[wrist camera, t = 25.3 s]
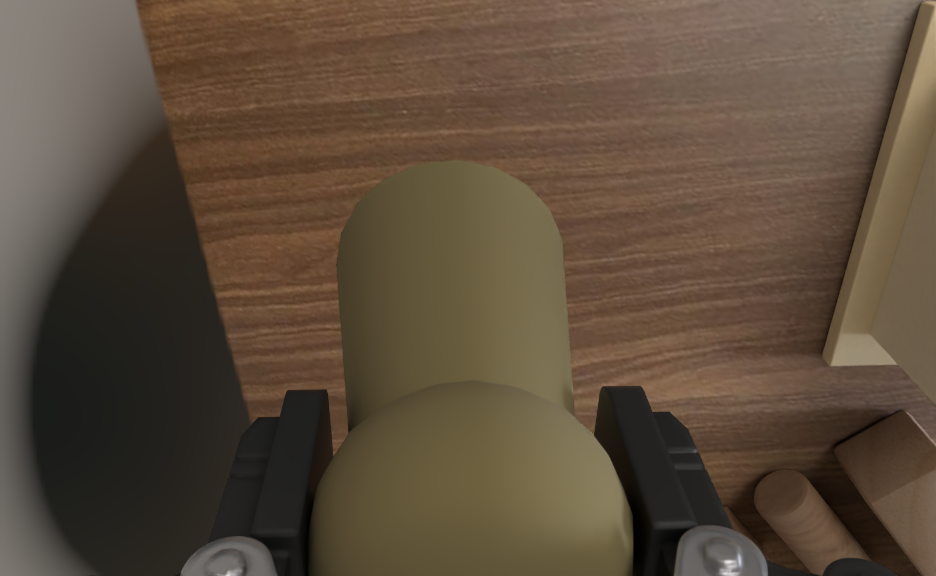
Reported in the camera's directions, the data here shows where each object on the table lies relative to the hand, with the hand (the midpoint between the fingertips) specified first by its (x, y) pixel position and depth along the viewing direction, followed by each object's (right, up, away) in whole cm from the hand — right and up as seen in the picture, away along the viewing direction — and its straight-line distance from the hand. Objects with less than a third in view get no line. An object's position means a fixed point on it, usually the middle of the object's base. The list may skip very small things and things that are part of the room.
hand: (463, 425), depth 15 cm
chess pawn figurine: (0, +3, +6) cm, 7 cm away
